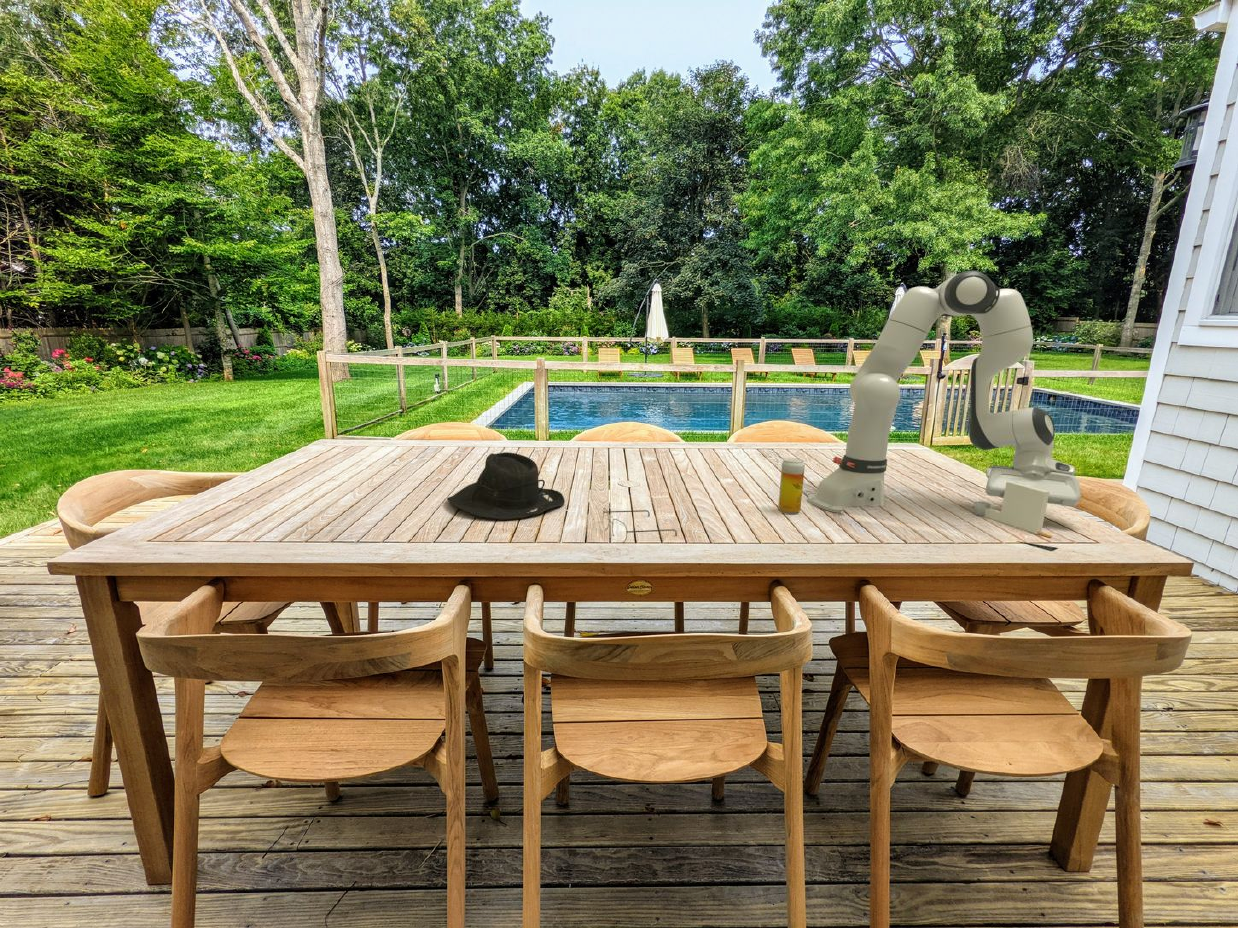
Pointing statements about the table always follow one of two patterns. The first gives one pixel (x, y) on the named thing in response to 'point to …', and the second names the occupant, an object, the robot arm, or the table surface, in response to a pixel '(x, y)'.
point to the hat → (506, 490)
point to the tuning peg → (1019, 508)
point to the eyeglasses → (625, 525)
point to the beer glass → (791, 485)
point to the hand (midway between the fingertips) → (1030, 513)
